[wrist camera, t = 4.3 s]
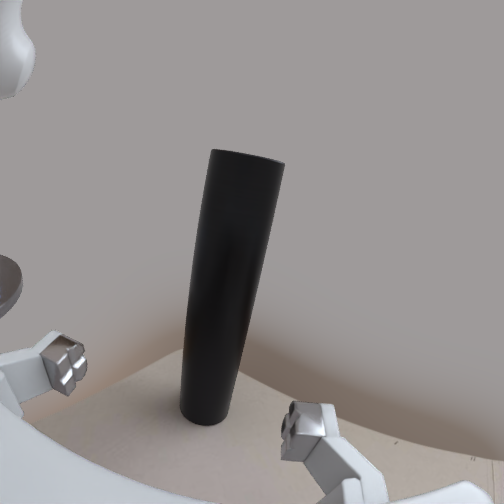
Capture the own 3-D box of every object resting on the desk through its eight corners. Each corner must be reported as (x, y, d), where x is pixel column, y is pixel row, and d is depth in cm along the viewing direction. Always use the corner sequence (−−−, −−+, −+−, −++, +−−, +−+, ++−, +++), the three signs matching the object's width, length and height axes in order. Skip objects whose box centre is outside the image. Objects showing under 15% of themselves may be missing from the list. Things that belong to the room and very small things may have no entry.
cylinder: (174, 418, 21) (204, 146, 14) (185, 386, 25) (218, 151, 18) (225, 430, 21) (288, 162, 14) (230, 395, 25) (283, 164, 18)
